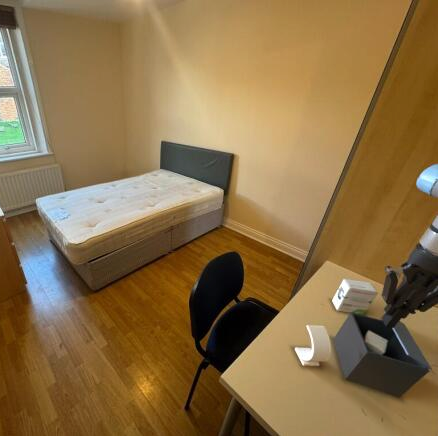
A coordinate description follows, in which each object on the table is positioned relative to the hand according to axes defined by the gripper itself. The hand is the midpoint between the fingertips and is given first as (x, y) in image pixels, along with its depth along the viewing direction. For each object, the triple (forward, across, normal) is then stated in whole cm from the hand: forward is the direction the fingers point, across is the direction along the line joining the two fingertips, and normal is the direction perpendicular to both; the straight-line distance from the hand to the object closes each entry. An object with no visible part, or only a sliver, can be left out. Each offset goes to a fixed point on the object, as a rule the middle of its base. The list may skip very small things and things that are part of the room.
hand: (387, 322), depth 60 cm
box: (+19, +1, 0) cm, 19 cm away
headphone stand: (+19, -13, -4) cm, 24 cm away
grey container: (+19, +2, 0) cm, 19 cm away
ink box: (+19, +4, +23) cm, 30 cm away
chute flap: (+4, +5, 0) cm, 6 cm away
